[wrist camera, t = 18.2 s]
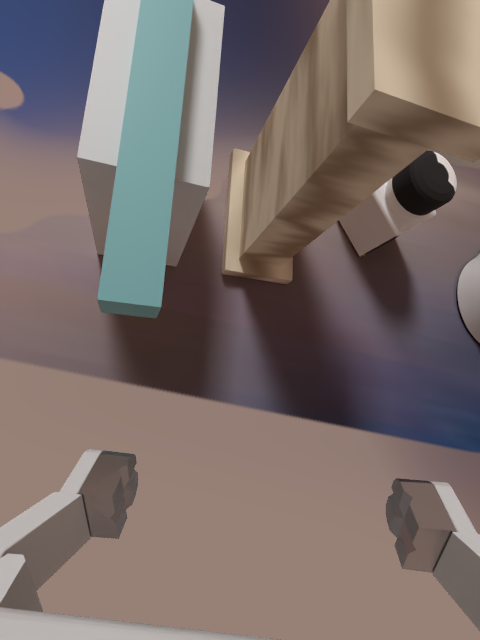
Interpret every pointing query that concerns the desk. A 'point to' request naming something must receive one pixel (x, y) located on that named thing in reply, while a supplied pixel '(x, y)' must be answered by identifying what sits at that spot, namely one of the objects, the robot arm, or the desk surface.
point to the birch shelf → (352, 124)
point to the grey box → (109, 109)
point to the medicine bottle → (401, 203)
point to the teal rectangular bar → (146, 162)
